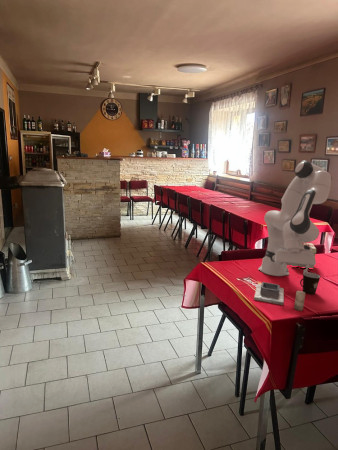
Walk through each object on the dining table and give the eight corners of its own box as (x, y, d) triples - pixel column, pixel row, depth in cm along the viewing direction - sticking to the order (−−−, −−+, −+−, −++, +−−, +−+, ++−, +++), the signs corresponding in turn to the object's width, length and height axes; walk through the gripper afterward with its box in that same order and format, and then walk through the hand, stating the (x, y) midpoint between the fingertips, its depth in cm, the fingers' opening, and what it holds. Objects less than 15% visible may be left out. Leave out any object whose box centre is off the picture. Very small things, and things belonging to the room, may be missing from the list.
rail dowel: (293, 306, 163) (296, 290, 162) (302, 308, 162) (305, 291, 160) (294, 309, 160) (296, 293, 158) (303, 311, 158) (305, 294, 157)
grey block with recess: (257, 286, 187) (258, 277, 186) (283, 290, 183) (284, 282, 182) (254, 299, 168) (255, 290, 167) (283, 305, 164) (284, 295, 163)
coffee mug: (312, 289, 187) (315, 272, 185) (320, 296, 179) (323, 278, 177) (292, 288, 187) (295, 271, 185) (299, 295, 178) (301, 277, 176)
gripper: (275, 244, 175) (277, 268, 167) (314, 247, 174) (318, 271, 166) (272, 250, 180) (273, 273, 173) (310, 253, 179) (314, 277, 171)
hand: (296, 272), depth 169 cm, fingers open, 8 cm apart
